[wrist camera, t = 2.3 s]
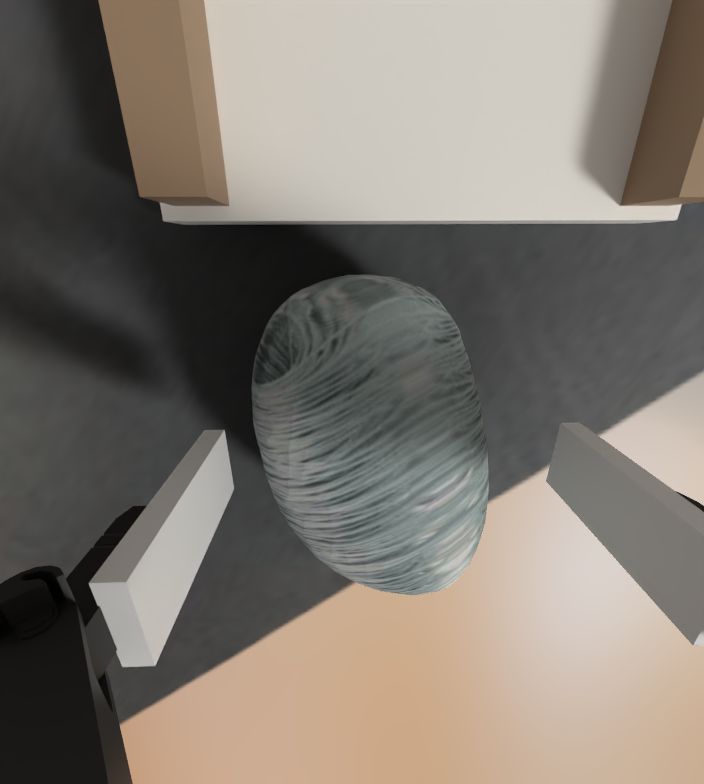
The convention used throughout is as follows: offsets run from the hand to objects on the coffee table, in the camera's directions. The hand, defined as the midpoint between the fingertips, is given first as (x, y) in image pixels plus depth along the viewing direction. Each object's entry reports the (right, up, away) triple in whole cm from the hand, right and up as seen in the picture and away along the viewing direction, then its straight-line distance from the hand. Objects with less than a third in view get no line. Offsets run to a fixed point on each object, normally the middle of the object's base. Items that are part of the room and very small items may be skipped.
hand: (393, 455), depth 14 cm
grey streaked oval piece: (-1, +2, +5) cm, 5 cm away
